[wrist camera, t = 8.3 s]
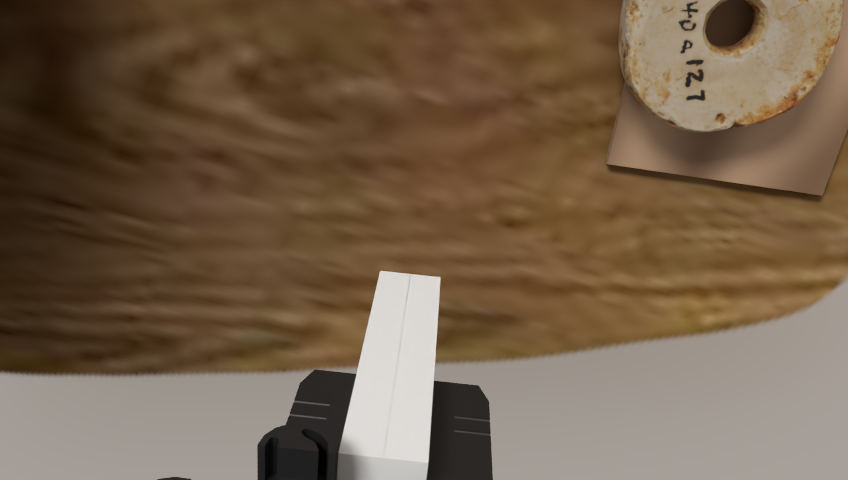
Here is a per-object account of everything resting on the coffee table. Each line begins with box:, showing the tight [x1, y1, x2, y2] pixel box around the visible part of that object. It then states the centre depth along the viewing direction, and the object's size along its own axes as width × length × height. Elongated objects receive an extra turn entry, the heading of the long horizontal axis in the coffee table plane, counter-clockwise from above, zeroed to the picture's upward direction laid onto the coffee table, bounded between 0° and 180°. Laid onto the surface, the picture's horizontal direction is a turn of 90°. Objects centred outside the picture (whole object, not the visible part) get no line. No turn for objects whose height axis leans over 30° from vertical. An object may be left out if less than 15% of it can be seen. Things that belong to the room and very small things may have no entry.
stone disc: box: [619, 0, 844, 132], centre depth 36 cm, size 10×4×10 cm
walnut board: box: [606, 0, 848, 196], centre depth 38 cm, size 12×14×1 cm
